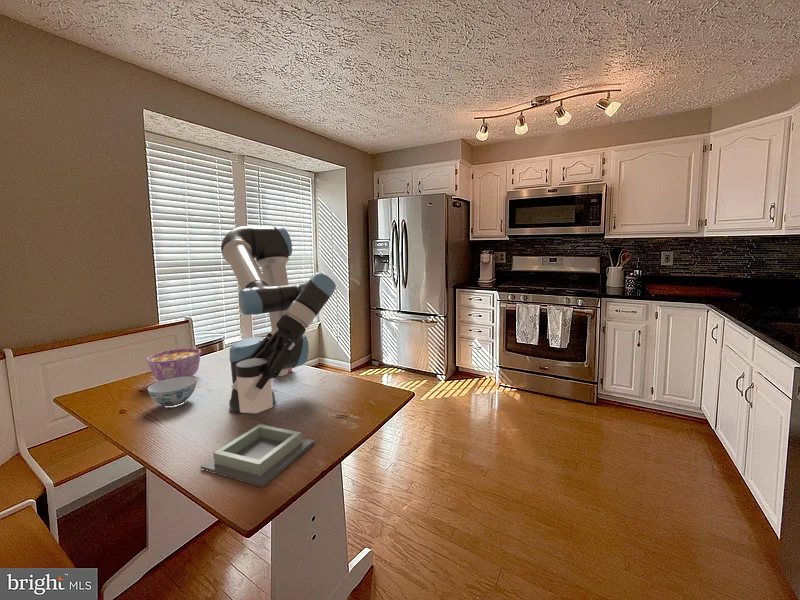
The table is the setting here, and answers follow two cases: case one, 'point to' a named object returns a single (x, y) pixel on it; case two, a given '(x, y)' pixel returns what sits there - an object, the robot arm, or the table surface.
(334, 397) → the table surface
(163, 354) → the bowl of food
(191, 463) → the table surface
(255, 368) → the jar
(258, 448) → the green and grey tray
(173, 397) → the chinaware
